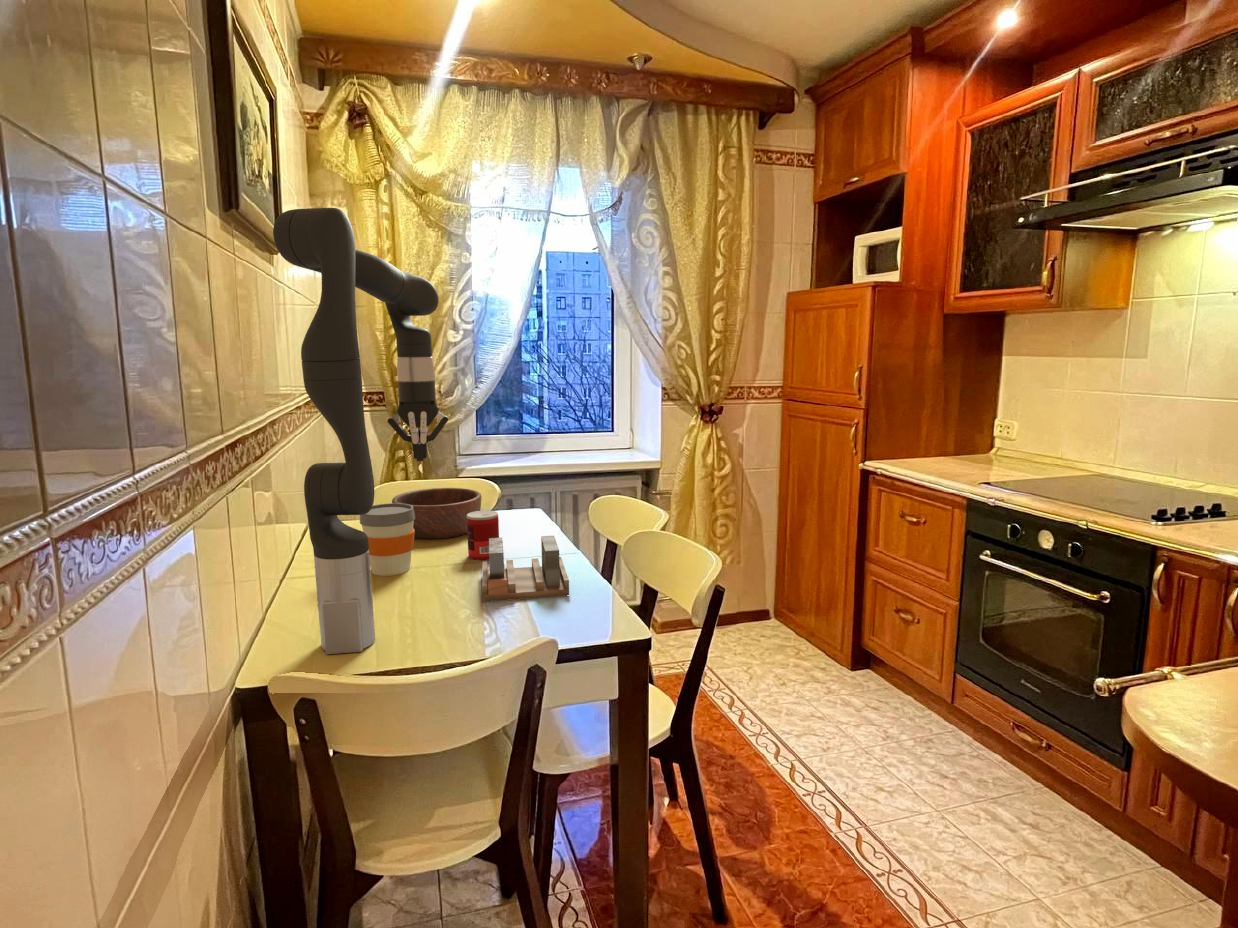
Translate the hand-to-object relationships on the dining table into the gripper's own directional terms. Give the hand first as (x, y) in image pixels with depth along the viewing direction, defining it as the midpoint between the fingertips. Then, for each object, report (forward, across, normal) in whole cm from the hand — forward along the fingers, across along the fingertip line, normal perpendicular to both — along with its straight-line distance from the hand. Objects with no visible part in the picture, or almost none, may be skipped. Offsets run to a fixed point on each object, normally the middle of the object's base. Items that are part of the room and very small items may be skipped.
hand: (420, 460), depth 153 cm
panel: (+27, +15, -1) cm, 31 cm away
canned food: (+29, +12, +24) cm, 40 cm away
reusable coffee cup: (+29, -10, +17) cm, 35 cm away
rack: (+29, +21, -1) cm, 36 cm away
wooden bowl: (+29, -1, +52) cm, 60 cm away
